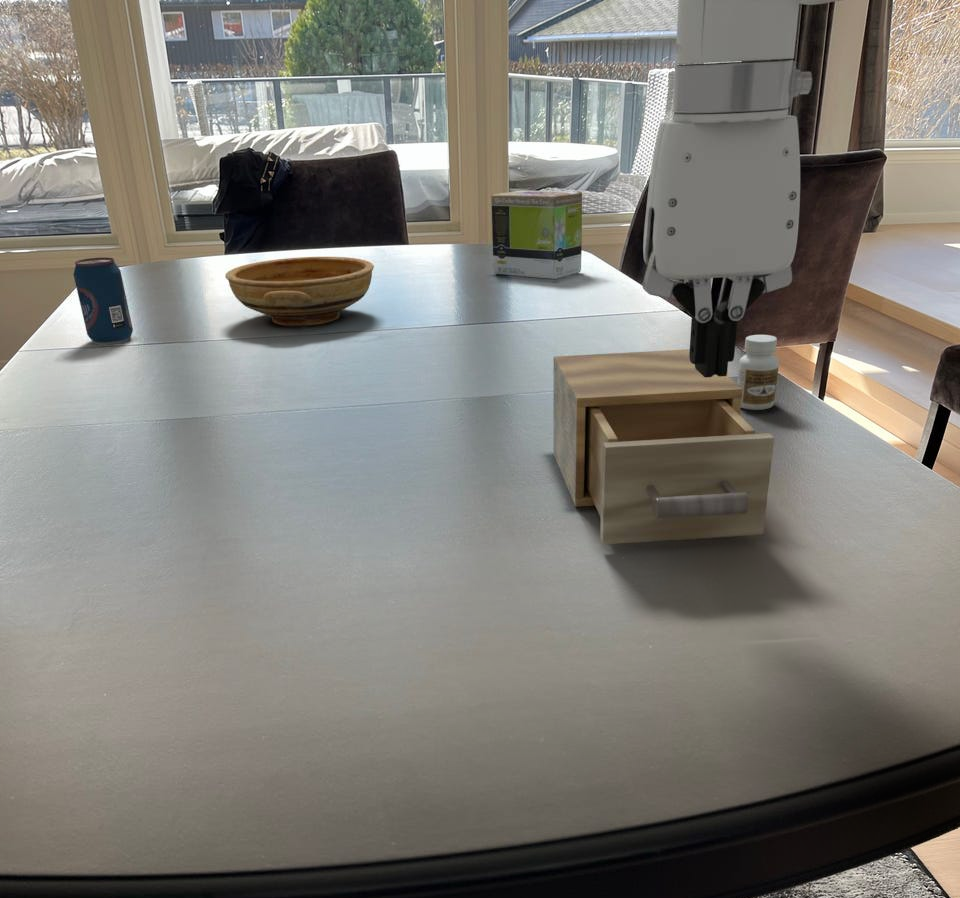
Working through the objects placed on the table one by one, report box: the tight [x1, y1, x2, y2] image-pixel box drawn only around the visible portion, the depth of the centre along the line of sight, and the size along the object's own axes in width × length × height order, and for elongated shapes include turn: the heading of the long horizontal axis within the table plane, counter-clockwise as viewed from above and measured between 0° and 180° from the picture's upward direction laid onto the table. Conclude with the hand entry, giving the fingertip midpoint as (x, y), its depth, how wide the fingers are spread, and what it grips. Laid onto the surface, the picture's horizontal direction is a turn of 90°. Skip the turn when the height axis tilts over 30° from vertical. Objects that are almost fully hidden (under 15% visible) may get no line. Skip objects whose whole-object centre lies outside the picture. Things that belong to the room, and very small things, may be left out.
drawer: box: [584, 399, 775, 545], centre depth 82 cm, size 18×13×8 cm
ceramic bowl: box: [225, 256, 375, 327], centre depth 162 cm, size 30×24×8 cm
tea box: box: [490, 189, 583, 280], centre depth 189 cm, size 15×10×15 cm
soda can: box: [72, 257, 134, 346], centre depth 152 cm, size 7×7×12 cm
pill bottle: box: [736, 334, 780, 411], centre depth 112 cm, size 4×4×8 cm
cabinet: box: [552, 348, 743, 508], centre depth 93 cm, size 15×15×10 cm
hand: (710, 371), depth 74 cm, fingers closed
